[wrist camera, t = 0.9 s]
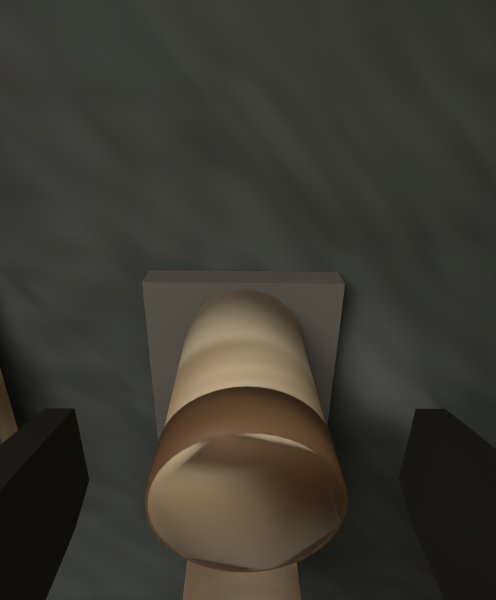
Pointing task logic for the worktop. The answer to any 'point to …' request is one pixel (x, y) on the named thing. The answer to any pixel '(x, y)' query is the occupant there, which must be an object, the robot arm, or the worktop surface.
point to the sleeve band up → (245, 444)
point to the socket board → (5, 413)
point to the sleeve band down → (241, 584)
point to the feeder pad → (206, 284)
